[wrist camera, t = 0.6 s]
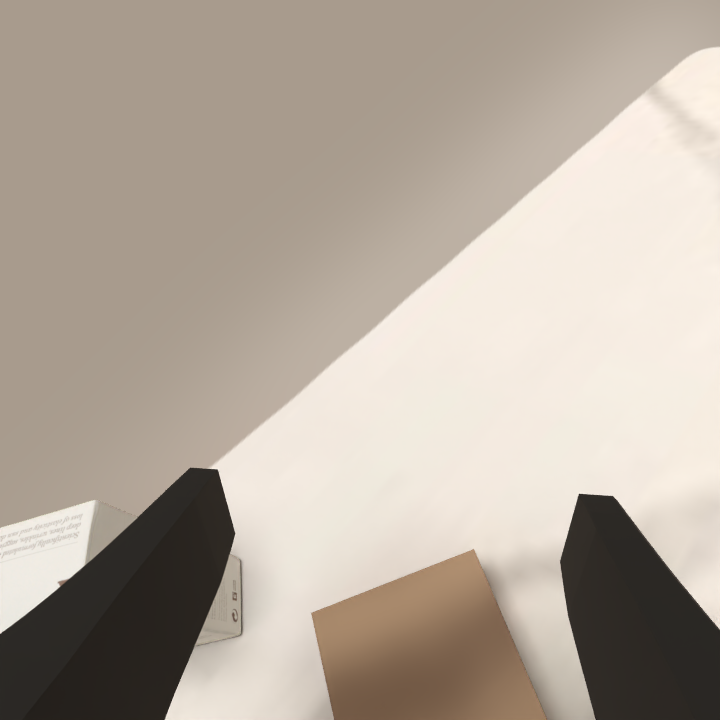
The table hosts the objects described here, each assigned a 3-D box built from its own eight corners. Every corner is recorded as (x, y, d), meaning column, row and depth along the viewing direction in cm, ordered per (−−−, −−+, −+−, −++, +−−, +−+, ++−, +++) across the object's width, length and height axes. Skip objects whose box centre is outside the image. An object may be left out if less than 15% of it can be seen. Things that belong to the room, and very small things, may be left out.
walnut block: (560, 756, 21) (567, 768, 18) (384, 821, 21) (361, 844, 18) (479, 567, 26) (473, 549, 23) (336, 622, 26) (311, 612, 23)
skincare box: (242, 555, 29) (103, 485, 19) (244, 641, 26) (85, 611, 17) (146, 580, 30) (-34, 524, 20) (139, 667, 27) (-72, 651, 17)
